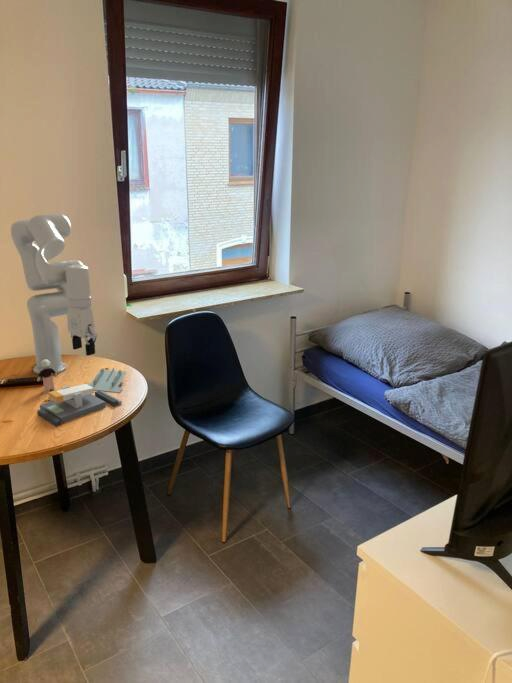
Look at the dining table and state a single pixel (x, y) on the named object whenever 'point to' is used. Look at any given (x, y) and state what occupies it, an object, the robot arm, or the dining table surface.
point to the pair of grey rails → (98, 394)
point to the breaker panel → (73, 406)
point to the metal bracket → (108, 381)
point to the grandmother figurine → (47, 376)
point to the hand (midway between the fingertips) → (84, 351)
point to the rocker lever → (70, 393)
